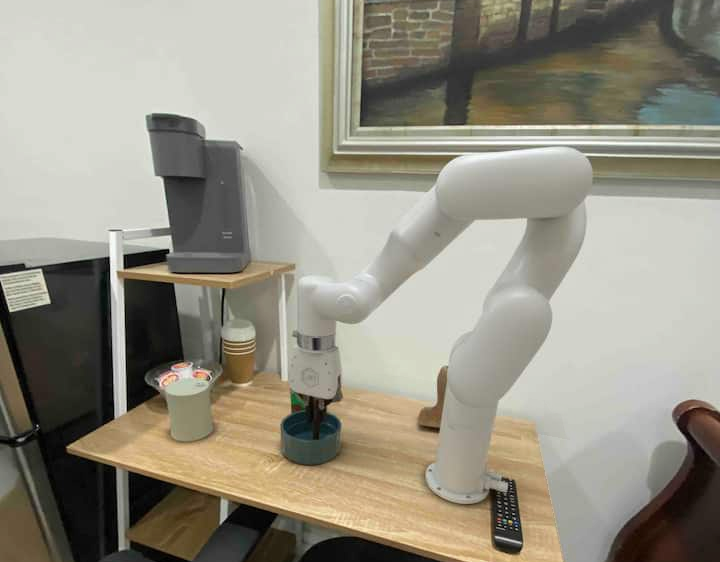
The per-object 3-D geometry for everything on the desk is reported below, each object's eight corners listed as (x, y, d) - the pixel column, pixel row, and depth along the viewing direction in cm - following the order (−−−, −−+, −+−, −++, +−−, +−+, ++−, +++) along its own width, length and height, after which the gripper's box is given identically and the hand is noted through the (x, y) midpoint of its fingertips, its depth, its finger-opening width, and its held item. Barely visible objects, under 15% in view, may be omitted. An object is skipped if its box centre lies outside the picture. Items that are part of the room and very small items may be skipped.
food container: (313, 425, 96) (313, 388, 92) (289, 421, 97) (289, 385, 93) (327, 402, 107) (328, 369, 104) (305, 399, 108) (306, 366, 105)
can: (213, 438, 89) (209, 391, 84) (169, 444, 85) (162, 395, 81) (213, 418, 97) (209, 374, 92) (172, 423, 94) (166, 377, 89)
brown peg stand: (329, 445, 87) (330, 396, 82) (320, 455, 83) (320, 404, 78) (311, 440, 88) (311, 391, 84) (302, 450, 84) (301, 400, 80)
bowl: (349, 440, 91) (350, 417, 89) (324, 472, 79) (324, 447, 77) (299, 426, 95) (299, 404, 93) (269, 456, 84) (268, 431, 81)
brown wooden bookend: (473, 414, 105) (482, 363, 100) (479, 438, 94) (490, 382, 89) (417, 408, 107) (423, 357, 102) (416, 430, 96) (423, 375, 91)
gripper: (272, 339, 76) (275, 421, 82) (345, 352, 71) (342, 439, 77) (292, 329, 83) (293, 406, 89) (360, 340, 77) (356, 421, 84)
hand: (316, 421), depth 83 cm, fingers closed on brown peg stand, 1 cm apart
